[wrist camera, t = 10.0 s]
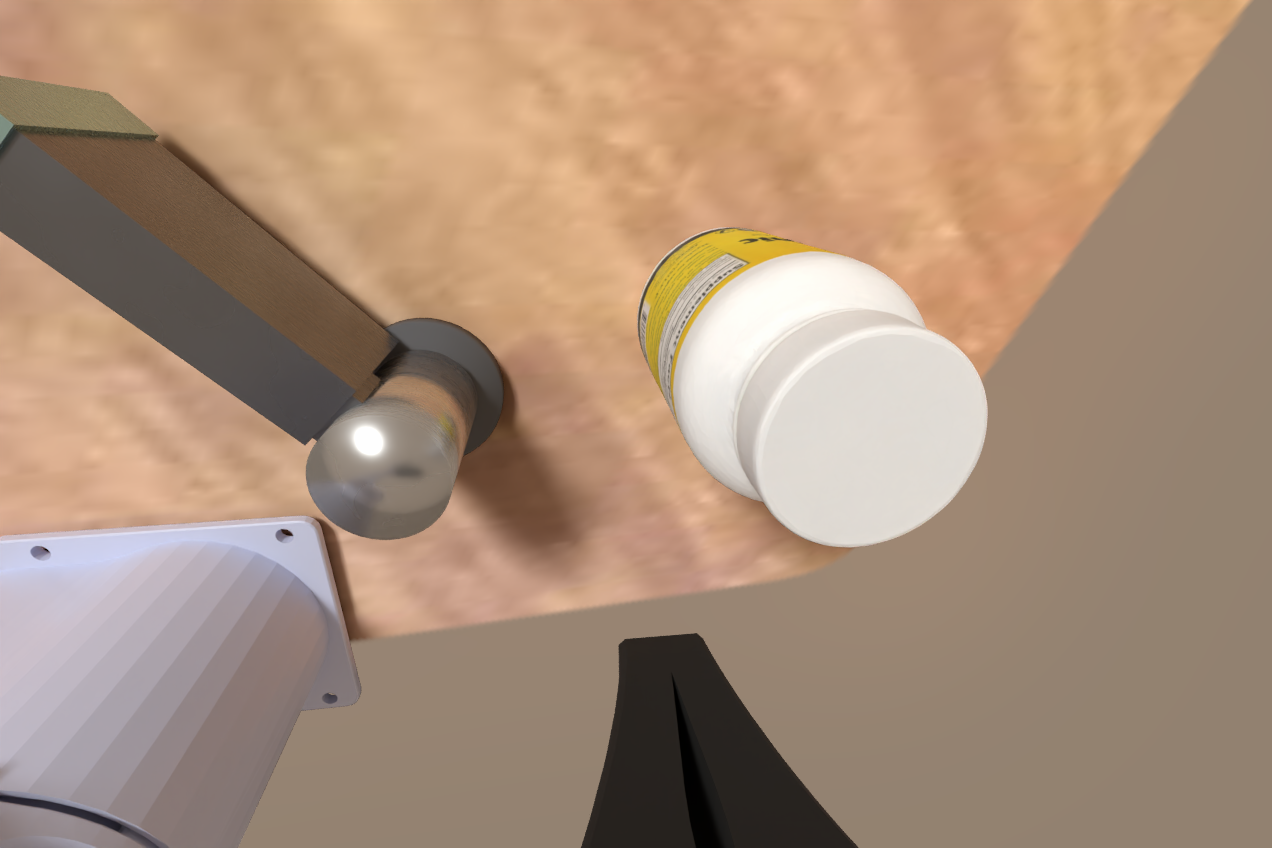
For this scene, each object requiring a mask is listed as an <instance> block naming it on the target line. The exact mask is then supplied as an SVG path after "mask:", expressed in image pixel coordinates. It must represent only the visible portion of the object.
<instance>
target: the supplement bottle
mask: <svg viewBox="0 0 1272 848" xmlns="http://www.w3.org/2000/svg"><path fill="white" fill-rule="evenodd" d="M637 329H638V336H639V341H640V345H641V348H642V351H643V354H644V357H645V359H646V361H647V364H648V366H649V368H650V370H651V372H652V374H653V376H654V378H655V380H656V383H657V384H658V386H659V388H660V390H661V392H662V394H663V396H664V398H665V400H666V402H667V404H668V406H669V408H670V410H671V412H672V414H673V416H674V418H675V420H676V422H677V424H678V426H679V428H680V430H681V432H682V434H683V436H684V438H685V440H686V442H687V444H688V446H689V447H690V449H691V450H692V452H693V454H694V455H695V457H696V458H697V459H698V461H699V462H700V463H701V464H702V466H703V467H704V468H705V469H706V470H707V471H708V472H709V473H710V474H711V475H712V476H713V477H714V478H715V479H716V480H718V481H719V482H720V483H722V484H723V485H724V486H726V487H728V488H729V489H731V490H732V491H734V492H736V493H738V494H740V495H743V496H745V497H748V498H750V499H753V500H757V501H761V502H763V503H764V504H765V505H766V507H767V508H768V510H769V511H770V512H771V513H772V515H773V516H774V517H775V518H776V519H777V520H778V521H779V522H780V523H781V524H782V525H784V526H785V527H786V528H787V529H789V530H790V531H792V532H793V533H795V534H796V535H798V536H800V537H802V538H804V539H806V540H809V541H812V542H815V543H818V544H822V545H826V546H834V547H861V546H870V545H874V544H878V543H881V542H885V541H889V540H892V539H894V538H896V537H899V536H901V535H904V534H906V533H908V532H910V531H912V530H913V529H915V528H917V527H919V526H920V525H922V524H923V523H925V522H926V521H928V520H929V519H931V518H932V517H933V516H934V515H935V514H937V513H938V512H939V511H940V510H942V509H943V508H944V507H945V506H946V505H947V504H948V503H949V502H950V501H951V500H952V499H953V498H954V496H955V495H956V494H957V493H958V491H959V490H960V489H961V488H962V486H963V485H964V483H965V482H966V480H967V479H968V477H969V475H970V474H971V472H972V470H973V469H974V467H975V465H976V463H977V460H978V458H979V456H980V453H981V450H982V447H983V444H984V439H985V434H986V427H987V401H986V396H985V391H984V387H983V384H982V381H981V379H980V377H979V374H978V373H977V371H976V369H975V368H974V366H973V364H972V363H971V361H970V360H969V359H968V358H967V356H966V355H965V354H964V353H963V352H962V351H961V350H960V349H959V348H958V347H957V346H955V345H954V344H953V343H952V342H950V341H949V340H947V339H946V338H944V337H943V336H941V335H938V334H936V333H934V332H932V331H930V330H928V329H927V328H926V326H925V324H924V321H923V318H922V316H921V315H920V313H919V311H918V309H917V308H916V306H915V304H914V303H913V301H912V300H911V299H910V297H909V296H908V295H907V294H906V293H905V291H904V290H903V289H902V288H901V287H900V286H899V285H898V284H897V283H895V282H894V281H893V280H892V279H891V278H889V277H888V276H887V275H885V274H884V273H882V272H881V271H879V270H877V269H876V268H874V267H872V266H870V265H868V264H865V263H863V262H860V261H858V260H855V259H853V258H850V257H847V256H845V255H841V254H837V253H834V252H830V251H826V250H823V249H819V248H815V247H812V246H808V245H804V244H802V243H798V242H794V241H791V240H788V239H783V238H780V237H777V236H773V235H770V234H767V233H764V232H760V231H756V230H752V229H746V228H737V227H723V228H715V229H711V230H707V231H703V232H701V233H698V234H696V235H693V236H691V237H689V238H687V239H686V240H684V241H683V242H681V243H679V244H678V245H677V246H675V247H674V248H673V249H672V250H670V251H669V252H668V253H667V254H666V255H665V256H664V257H663V258H662V259H661V260H660V262H659V263H658V264H657V265H656V267H655V268H654V270H653V271H652V273H651V275H650V276H649V278H648V280H647V282H646V284H645V286H644V289H643V291H642V294H641V298H640V302H639V307H638V314H637Z"/></svg>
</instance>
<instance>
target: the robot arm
mask: <svg viewBox="0 0 1272 848" xmlns="http://www.w3.org/2000/svg"><path fill="white" fill-rule="evenodd" d="M281 529H287V530H289V531H290V532H292V534H293V536H287V535H285V534H283V533H282V531H281ZM41 546H42V547H44V548H46V549H48V550H49V552H47V551H45V550H44V549H43V548H42V547H41ZM328 693H333V694H335V695H330V694H328ZM360 694H361V685H360V681H359V677H358V673H357V669H356V665H355V661H354V657H353V653H352V649H351V645H350V641H349V636H348V632H347V628H346V624H345V620H344V616H343V612H342V608H341V604H340V600H339V596H338V592H337V588H336V584H335V580H334V576H333V572H332V568H331V564H330V560H329V556H328V552H327V548H326V544H325V540H324V536H323V532H322V528H321V526H320V524H319V522H317V521H316V520H315V519H314V518H311V517H309V516H288V517H273V518H258V519H243V520H229V521H214V522H199V523H184V524H169V525H154V526H139V527H124V528H110V529H95V530H80V531H65V532H50V533H35V534H20V535H6V536H2V537H0V848H238V846H239V844H240V842H241V839H242V838H243V835H244V833H245V831H246V829H247V827H248V825H249V823H250V820H251V818H252V816H253V814H254V812H255V809H256V807H257V805H258V803H259V801H260V799H261V796H262V794H263V792H264V790H265V788H266V786H267V783H268V781H269V779H270V777H271V775H272V773H273V770H274V768H275V766H276V764H277V762H278V760H279V757H280V755H281V753H282V751H283V749H284V746H285V744H286V742H287V740H288V738H289V736H290V733H291V731H292V729H293V727H294V725H295V723H296V720H297V718H298V716H299V714H300V712H301V711H302V710H313V709H322V708H332V707H342V706H349V705H353V704H354V703H356V702H357V701H358V699H359V697H360ZM581 848H858V847H857V846H856V844H855V843H854V842H853V841H852V840H851V839H850V838H849V837H848V836H847V835H846V834H845V833H844V831H843V830H842V829H841V828H840V827H839V826H838V825H837V824H836V822H835V821H834V820H833V819H832V818H831V817H830V815H829V814H828V813H827V812H826V811H825V810H824V808H823V807H822V806H821V805H820V804H819V802H818V801H817V800H816V799H815V798H814V797H813V795H812V794H811V793H810V792H809V790H808V789H807V788H806V787H805V786H804V784H803V783H802V782H801V781H800V779H799V778H798V777H797V776H796V774H795V773H794V772H793V771H792V770H791V768H790V767H789V766H788V765H787V763H786V762H785V761H784V759H783V758H782V757H781V755H780V754H779V753H778V752H777V750H776V749H775V748H774V746H773V745H772V743H771V742H770V741H769V739H768V738H767V737H766V735H765V734H764V732H763V731H762V730H761V728H760V727H759V726H758V724H757V723H756V721H755V720H754V719H753V717H752V716H751V715H750V713H749V712H748V710H747V709H746V707H745V706H744V704H743V703H742V702H741V700H740V699H739V697H738V696H737V694H736V693H735V691H734V690H733V688H732V686H731V685H730V683H729V682H728V680H727V679H726V677H725V676H724V674H723V672H722V671H721V669H720V668H719V666H718V664H717V663H716V661H715V659H714V658H713V656H712V654H711V652H710V651H709V649H708V647H707V645H706V644H705V642H704V640H703V638H701V637H700V636H699V635H698V634H697V633H695V634H683V635H671V636H658V637H646V638H633V639H625V640H624V641H623V642H622V643H620V644H619V685H618V693H617V701H616V708H615V714H614V719H613V725H612V730H611V735H610V740H609V745H608V751H607V755H606V759H605V764H604V768H603V772H602V775H601V779H600V783H599V787H598V790H597V794H596V798H595V802H594V806H593V809H592V813H591V817H590V820H589V823H588V827H587V830H586V833H585V837H584V840H583V843H582V846H581Z"/></svg>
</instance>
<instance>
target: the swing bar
mask: <svg viewBox="0 0 1272 848" xmlns="http://www.w3.org/2000/svg"><path fill="white" fill-rule="evenodd" d="M157 137H158V134H156V133H155V132H154V131H153V130H152V129H150V128H149V127H148V126H147V125H146V124H144V123H143V122H142V121H141V120H140V119H138V118H137V117H136V116H135V115H134V114H132V113H131V112H130V111H129V110H128V109H126V108H125V107H124V106H123V105H122V104H120V103H119V102H118V101H117V100H116V99H114V98H113V97H112V96H111V95H110V94H108V93H105V92H99V91H93V90H86V89H80V88H74V87H68V86H62V85H55V84H49V83H43V82H37V81H30V80H24V79H18V78H12V77H5V76H0V231H1V232H2V233H4V234H5V235H6V236H8V237H9V238H11V239H12V240H14V241H15V242H16V243H18V244H19V245H21V246H22V247H24V248H25V249H26V250H28V251H29V252H31V253H32V254H33V255H35V256H36V257H38V258H39V259H41V260H42V261H43V262H45V263H46V264H48V265H49V266H51V267H52V268H53V269H55V270H56V271H58V272H59V273H61V274H62V275H63V276H65V277H66V278H68V279H69V280H70V281H72V282H73V283H75V284H76V285H78V286H79V287H80V288H82V289H83V290H85V291H86V292H88V293H89V294H90V295H92V296H93V297H95V298H96V299H98V300H99V301H100V302H102V303H103V304H105V305H106V306H107V307H109V308H110V309H112V310H113V311H115V312H116V313H117V314H119V315H120V316H122V317H123V318H125V319H126V320H127V321H129V322H130V323H132V324H133V325H135V326H136V327H137V328H139V329H140V330H142V331H143V332H144V333H146V334H147V335H149V336H150V337H152V338H153V339H154V340H156V341H157V342H159V343H160V344H162V345H163V346H164V347H166V348H167V349H169V350H170V351H172V352H173V353H174V354H176V355H177V356H179V357H180V358H181V359H183V360H184V361H186V362H187V363H189V364H190V365H191V366H193V367H194V368H196V369H197V370H199V371H200V372H201V373H203V374H204V375H206V376H207V377H209V378H210V379H211V380H213V381H214V382H216V383H217V384H218V385H220V386H221V387H223V388H224V389H226V390H227V391H228V392H230V393H231V394H233V395H234V396H236V397H237V398H238V399H240V400H241V401H243V402H244V403H246V404H247V405H248V406H250V407H251V408H253V409H254V410H255V411H257V412H258V413H260V414H261V415H263V416H264V417H265V418H267V419H268V420H270V421H271V422H273V423H274V424H275V425H277V426H278V427H280V428H281V429H283V430H284V431H285V432H287V433H288V434H290V435H291V436H292V437H294V438H295V439H297V440H298V441H300V442H301V443H302V444H304V445H306V444H307V443H308V442H309V441H310V440H311V439H312V438H314V439H315V440H316V441H317V442H316V444H315V445H314V447H313V448H312V450H311V452H310V455H309V457H308V460H307V465H306V481H307V486H308V489H309V492H310V495H311V497H312V499H313V501H314V502H315V504H316V506H317V507H318V508H319V509H320V511H321V512H322V513H323V514H324V515H325V516H326V517H327V518H328V519H329V520H330V521H332V522H333V523H334V524H336V525H337V526H339V527H341V528H342V529H344V530H346V531H348V532H350V533H353V534H355V535H358V536H362V537H366V538H370V539H379V540H392V539H400V538H405V537H409V536H412V535H415V534H417V533H419V532H421V531H423V530H425V529H426V528H428V527H429V526H431V525H432V524H433V523H434V522H435V521H436V520H437V519H438V518H439V517H440V516H441V515H442V513H443V512H444V510H445V509H446V507H447V504H448V502H449V499H450V496H451V493H452V490H453V486H454V483H455V480H456V477H457V473H458V470H459V467H460V464H461V460H462V457H463V454H464V450H465V447H466V444H467V441H468V437H469V434H470V431H471V428H472V424H473V421H474V418H475V415H476V411H477V405H478V404H477V392H476V389H475V386H474V383H473V381H472V379H471V378H470V376H469V374H468V373H467V372H466V371H465V370H464V368H462V367H461V366H460V365H459V364H458V363H457V362H455V361H454V360H453V359H451V358H449V357H447V356H445V355H443V354H441V353H437V352H434V351H428V350H411V351H406V352H402V353H399V354H397V355H395V356H393V357H391V358H390V359H388V360H387V361H386V362H385V363H384V364H383V365H382V366H381V367H380V368H379V369H378V370H377V372H376V373H375V374H373V373H372V372H373V371H374V370H375V369H376V367H377V366H378V365H379V364H380V363H381V362H382V361H383V359H384V358H385V357H386V356H387V355H388V354H389V352H390V351H391V350H392V349H393V348H394V347H395V345H396V344H397V343H398V342H399V341H398V340H396V339H395V338H394V337H393V336H392V335H390V334H389V333H388V332H387V331H386V330H384V329H383V328H382V327H381V326H380V325H378V324H377V323H376V322H375V321H373V320H372V319H371V318H370V317H369V316H367V315H366V314H365V313H364V312H363V311H361V310H360V309H359V308H358V307H357V306H355V305H354V304H353V303H352V302H351V301H349V300H348V299H347V298H346V297H345V296H343V295H342V294H341V293H340V292H338V291H337V290H336V289H335V288H334V287H332V286H331V285H330V284H329V283H328V282H326V281H325V280H324V279H323V278H322V277H320V276H319V275H318V274H317V273H316V272H314V271H313V270H312V269H311V268H310V267H308V266H307V265H306V264H305V263H303V262H302V261H301V260H300V259H299V258H297V257H296V256H295V255H294V254H293V253H291V252H290V251H289V250H288V249H287V248H285V247H284V246H283V245H282V244H281V243H279V242H278V241H277V240H276V239H275V238H273V237H272V236H271V235H270V234H268V233H267V232H266V231H265V230H264V229H262V228H261V227H260V226H259V225H258V224H256V223H255V222H254V221H253V220H252V219H250V218H249V217H248V216H247V215H246V214H244V213H243V212H242V211H241V210H240V209H238V208H237V207H236V206H235V205H233V204H232V203H231V202H230V201H229V200H227V199H226V198H225V197H224V196H223V195H221V194H220V193H219V192H218V191H217V190H215V189H214V188H213V187H212V186H211V185H209V184H208V183H207V182H206V181H205V180H203V179H202V178H201V177H200V176H198V175H197V174H196V173H195V172H194V171H192V170H191V169H190V168H189V167H188V166H186V165H185V164H184V163H183V162H182V161H180V160H179V159H178V158H177V157H176V156H174V155H173V154H172V153H171V152H170V151H168V150H167V149H166V148H165V147H163V146H162V145H161V144H160V143H159V142H157V141H156V140H155V139H156V138H157Z"/></svg>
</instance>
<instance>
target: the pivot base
mask: <svg viewBox="0 0 1272 848" xmlns="http://www.w3.org/2000/svg"><path fill="white" fill-rule="evenodd" d="M384 330H386V331H387V332H388V333H389V334H390V335H392V336H393V337H394V338H395V339H396V340H398V341H399V342H398V343H397V344H396V345H395V347H394V348H393V349H392V350H391V351H390V352H389V354H388V355H387V356H386V357H385V358H384V359H383V361H382V362H381V363H380V364H379V365H378V366H377V367H376V369H375V370H374V371H373V372H372V373H373V374H375V373H376V372H377V370H378V369H379V368H380V367H381V366H382V365H383V364H384V363H385V362H386V361H387V360H388V359H390V358H391V357H393V356H395V355H397V354H399V353H402V352H406V351H411V350H428V351H434V352H437V353H441V354H443V355H445V356H447V357H449V358H451V359H453V360H454V361H455V362H457V363H458V364H459V365H460V366H461V367H462V368H464V370H465V371H466V372H467V373H468V374H469V376H470V378H471V379H472V381H473V383H474V386H475V389H476V392H477V404H478V405H477V411H476V415H475V418H474V421H473V424H472V428H471V431H470V434H469V437H468V441H467V444H466V447H465V450H464V454H463V456H464V455H466V454H468V453H470V452H471V451H473V450H474V449H476V448H477V447H479V446H480V445H481V444H482V443H483V442H484V441H485V440H486V439H487V438H488V437H489V436H490V434H491V433H492V431H493V430H494V428H495V427H496V424H497V422H498V420H499V417H500V413H501V409H502V405H503V397H504V385H503V379H502V375H501V371H500V368H499V366H498V364H497V362H496V360H495V358H494V357H493V355H492V353H491V352H490V351H489V349H488V348H487V347H486V346H485V345H484V344H483V343H482V342H481V341H480V340H479V339H478V338H477V337H476V336H474V335H473V334H472V333H470V332H469V331H467V330H465V329H463V328H462V327H460V326H458V325H455V324H453V323H450V322H447V321H443V320H439V319H432V318H414V319H407V320H403V321H399V322H397V323H394V324H391V325H389V326H387V327H386V328H384Z"/></svg>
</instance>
